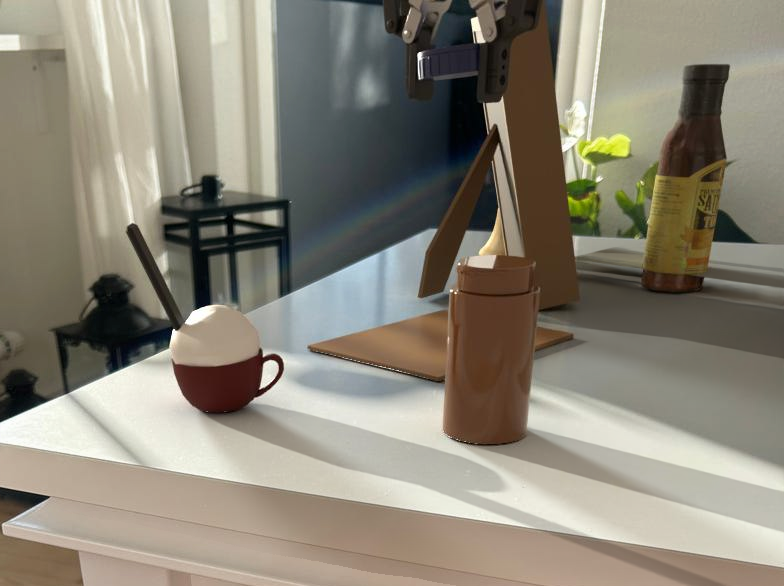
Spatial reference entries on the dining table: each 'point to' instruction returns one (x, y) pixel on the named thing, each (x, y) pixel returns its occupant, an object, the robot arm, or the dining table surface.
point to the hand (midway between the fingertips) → (454, 100)
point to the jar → (490, 349)
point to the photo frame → (518, 178)
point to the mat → (412, 345)
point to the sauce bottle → (688, 185)
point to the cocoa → (209, 347)
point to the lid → (448, 62)
